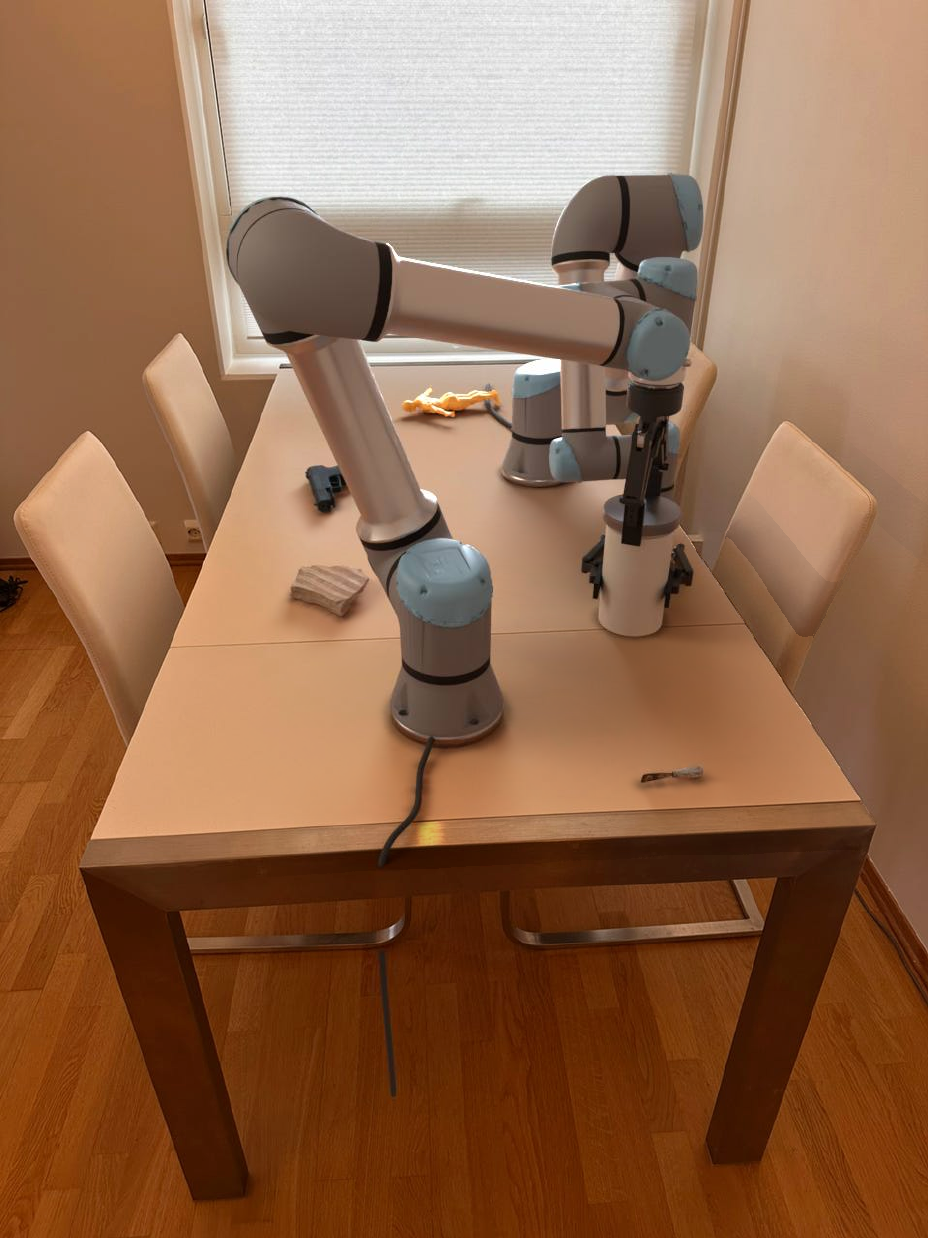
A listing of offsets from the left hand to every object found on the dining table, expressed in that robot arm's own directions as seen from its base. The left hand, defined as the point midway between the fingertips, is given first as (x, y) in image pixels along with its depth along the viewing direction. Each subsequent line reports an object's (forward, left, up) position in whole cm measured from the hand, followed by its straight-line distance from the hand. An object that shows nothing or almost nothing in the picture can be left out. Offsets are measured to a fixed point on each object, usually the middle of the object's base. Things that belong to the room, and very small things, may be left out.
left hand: (640, 527), depth 132 cm
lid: (0, 0, +3) cm, 3 cm away
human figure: (+92, +50, -16) cm, 106 cm away
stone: (-3, +49, -16) cm, 52 cm away
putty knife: (-37, -7, -16) cm, 41 cm away
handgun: (+37, +61, -16) cm, 73 cm away
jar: (0, 0, -16) cm, 16 cm away
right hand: (-4, 0, -9) cm, 10 cm away
